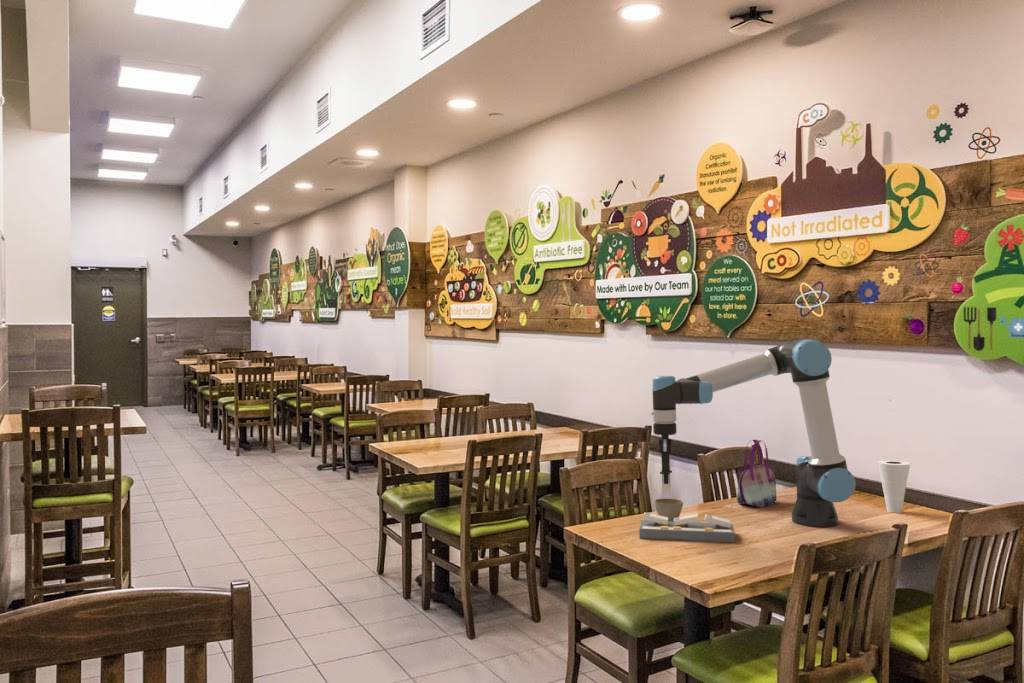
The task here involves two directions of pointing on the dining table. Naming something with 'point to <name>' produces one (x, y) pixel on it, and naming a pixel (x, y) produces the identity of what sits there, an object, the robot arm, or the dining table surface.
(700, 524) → the switch unit
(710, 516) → the rocker
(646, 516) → the rocker
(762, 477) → the handbag
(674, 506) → the flower pot
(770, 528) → the dining table surface
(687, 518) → the rocker
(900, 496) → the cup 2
